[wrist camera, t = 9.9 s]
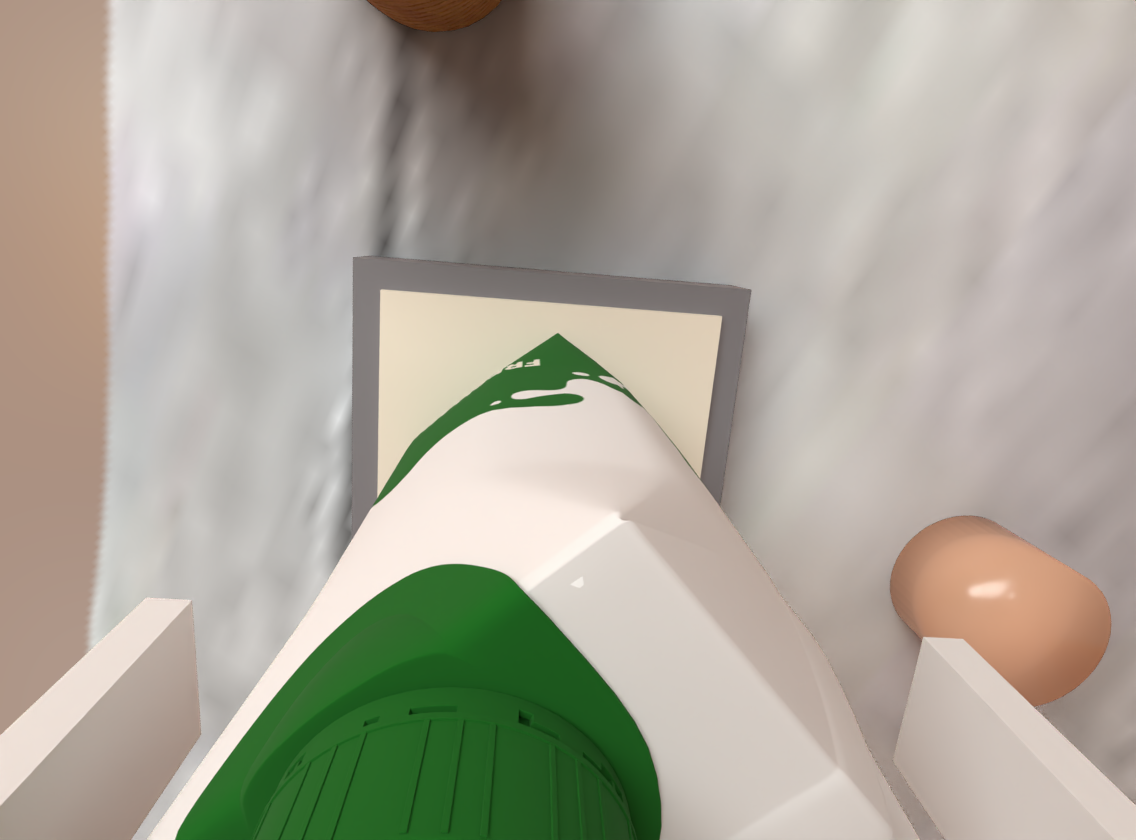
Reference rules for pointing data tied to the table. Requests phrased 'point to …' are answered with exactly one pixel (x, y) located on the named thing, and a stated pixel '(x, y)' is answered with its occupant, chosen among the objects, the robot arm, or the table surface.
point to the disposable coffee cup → (435, 12)
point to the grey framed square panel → (519, 324)
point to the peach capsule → (1003, 604)
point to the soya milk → (544, 654)
